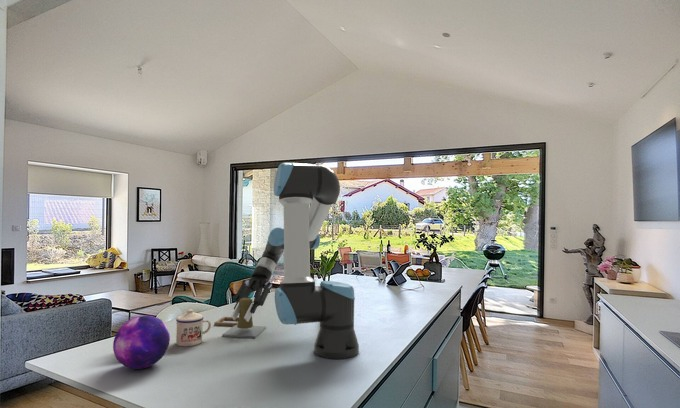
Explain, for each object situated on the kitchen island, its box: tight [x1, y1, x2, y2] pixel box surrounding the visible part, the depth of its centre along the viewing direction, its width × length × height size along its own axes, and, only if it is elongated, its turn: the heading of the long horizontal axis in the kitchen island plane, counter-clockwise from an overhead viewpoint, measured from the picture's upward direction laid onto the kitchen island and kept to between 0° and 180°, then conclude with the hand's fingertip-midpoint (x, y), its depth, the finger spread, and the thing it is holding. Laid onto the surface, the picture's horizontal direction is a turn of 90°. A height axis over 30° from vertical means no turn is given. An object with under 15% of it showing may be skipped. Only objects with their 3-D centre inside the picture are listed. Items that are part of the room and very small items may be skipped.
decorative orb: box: [112, 314, 171, 370], centre depth 114 cm, size 15×15×15 cm
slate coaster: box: [221, 325, 267, 339], centre depth 149 cm, size 13×13×1 cm
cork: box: [237, 297, 254, 329], centre depth 150 cm, size 6×6×11 cm
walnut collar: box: [213, 316, 239, 327], centre depth 163 cm, size 10×10×1 cm
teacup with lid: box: [175, 308, 212, 347], centre depth 137 cm, size 12×9×12 cm
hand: (239, 318), depth 146 cm, fingers closed on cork, 5 cm apart
